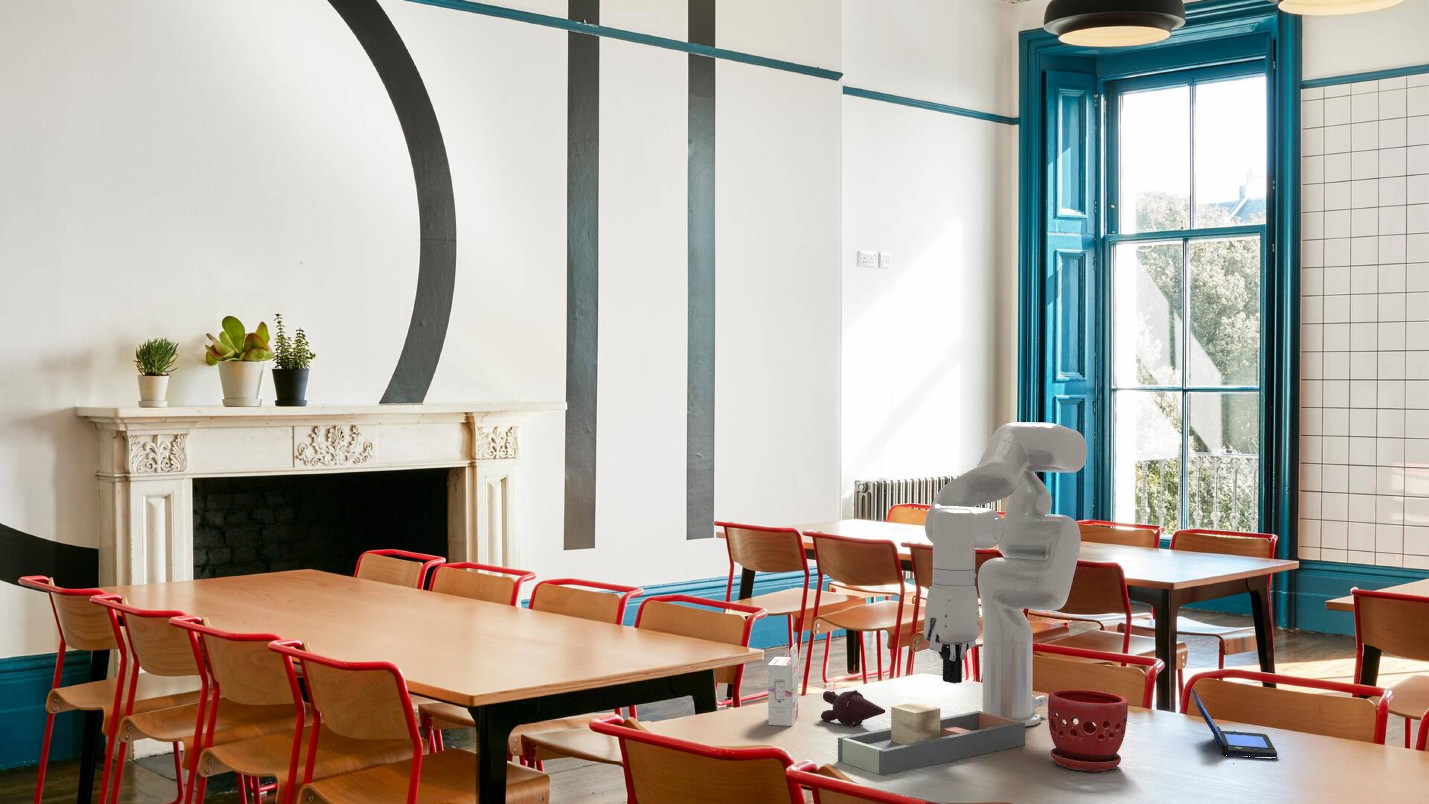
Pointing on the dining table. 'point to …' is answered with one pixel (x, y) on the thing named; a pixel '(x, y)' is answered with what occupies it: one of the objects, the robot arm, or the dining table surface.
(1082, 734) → the plant pot
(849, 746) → the compartment tray
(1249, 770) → the dining table surface
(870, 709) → the gnome figurine
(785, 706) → the ink cartridge box
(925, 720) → the maple block
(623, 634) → the dining table surface
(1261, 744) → the handheld game console
